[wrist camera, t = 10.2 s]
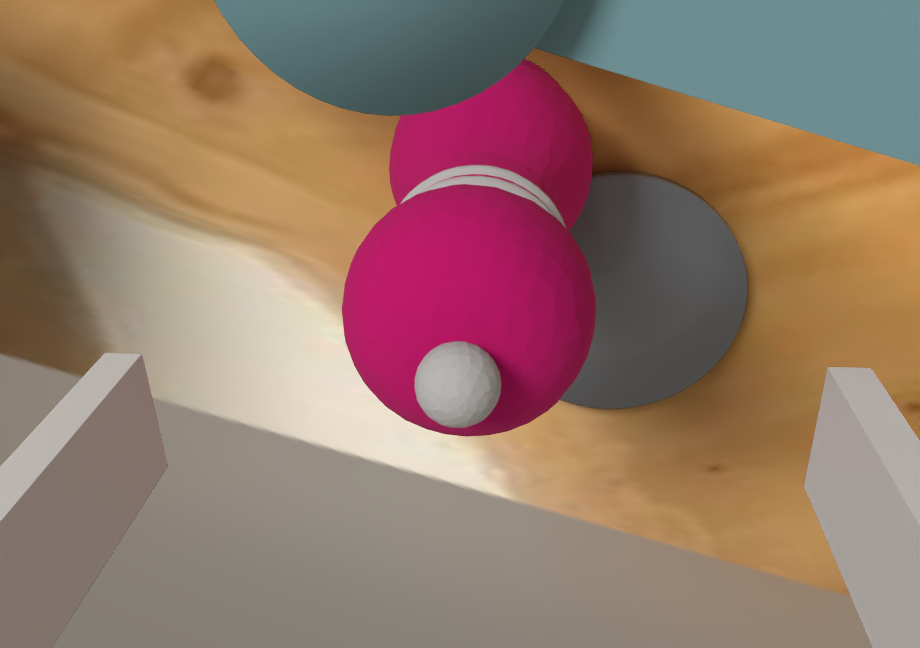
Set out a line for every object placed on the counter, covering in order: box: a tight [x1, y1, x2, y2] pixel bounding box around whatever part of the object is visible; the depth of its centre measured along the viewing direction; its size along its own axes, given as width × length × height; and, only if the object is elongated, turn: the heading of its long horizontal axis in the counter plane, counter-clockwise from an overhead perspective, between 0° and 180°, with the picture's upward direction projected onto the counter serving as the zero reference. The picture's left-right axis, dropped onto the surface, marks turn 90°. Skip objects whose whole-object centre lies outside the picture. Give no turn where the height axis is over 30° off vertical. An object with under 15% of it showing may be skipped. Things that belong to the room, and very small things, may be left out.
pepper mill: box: [342, 59, 596, 436], centre depth 25 cm, size 7×7×20 cm
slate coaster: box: [560, 171, 748, 409], centre depth 37 cm, size 11×11×1 cm
